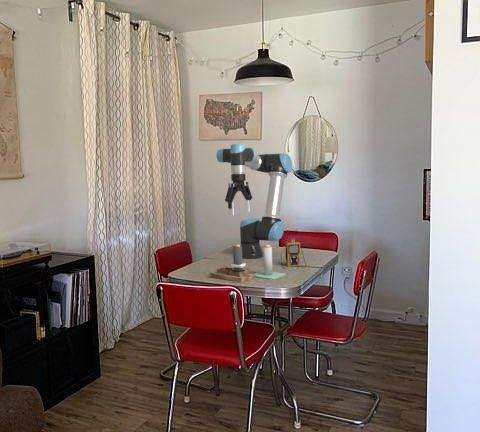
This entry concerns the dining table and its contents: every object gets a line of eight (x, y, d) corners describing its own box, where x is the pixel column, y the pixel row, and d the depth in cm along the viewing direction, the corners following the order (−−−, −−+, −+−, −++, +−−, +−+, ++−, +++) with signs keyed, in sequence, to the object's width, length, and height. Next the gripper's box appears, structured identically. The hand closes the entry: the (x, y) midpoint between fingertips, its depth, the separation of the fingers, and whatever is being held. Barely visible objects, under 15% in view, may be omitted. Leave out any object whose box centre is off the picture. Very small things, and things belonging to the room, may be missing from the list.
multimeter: (285, 270, 260) (284, 233, 258) (280, 266, 270) (279, 230, 268) (311, 268, 263) (311, 231, 261) (305, 264, 273) (304, 229, 270)
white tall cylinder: (267, 273, 253) (266, 244, 251) (274, 274, 250) (273, 244, 248) (262, 274, 250) (261, 245, 248) (269, 275, 247) (268, 246, 245)
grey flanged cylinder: (237, 272, 249) (236, 243, 247) (249, 274, 244) (248, 244, 243) (230, 275, 245) (229, 245, 243) (242, 277, 240) (241, 246, 238)
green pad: (263, 271, 259) (263, 270, 259) (286, 274, 250) (286, 273, 250) (250, 276, 250) (250, 275, 249) (272, 279, 241) (272, 278, 241)
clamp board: (224, 273, 258) (224, 265, 258) (254, 277, 246) (254, 270, 245) (210, 277, 250) (210, 269, 249) (241, 282, 237) (240, 274, 237)
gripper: (247, 172, 271) (248, 210, 273) (217, 174, 251) (218, 215, 254) (258, 172, 266) (258, 211, 268) (228, 174, 247) (229, 216, 249)
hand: (239, 213), depth 261 cm, fingers open, 13 cm apart
